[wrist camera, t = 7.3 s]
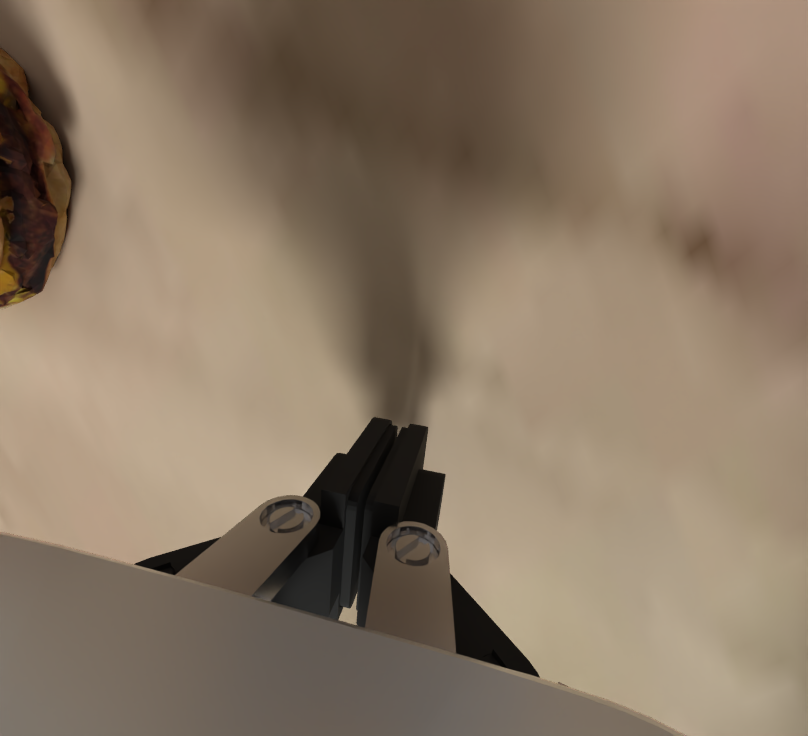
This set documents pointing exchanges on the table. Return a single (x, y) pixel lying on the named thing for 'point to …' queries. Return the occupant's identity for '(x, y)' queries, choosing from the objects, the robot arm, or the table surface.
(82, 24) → the table surface
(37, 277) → the burger
